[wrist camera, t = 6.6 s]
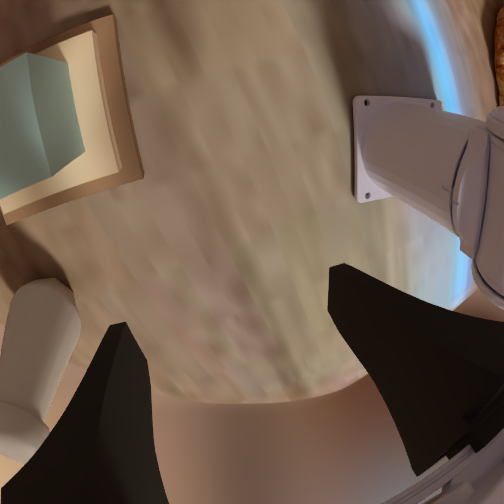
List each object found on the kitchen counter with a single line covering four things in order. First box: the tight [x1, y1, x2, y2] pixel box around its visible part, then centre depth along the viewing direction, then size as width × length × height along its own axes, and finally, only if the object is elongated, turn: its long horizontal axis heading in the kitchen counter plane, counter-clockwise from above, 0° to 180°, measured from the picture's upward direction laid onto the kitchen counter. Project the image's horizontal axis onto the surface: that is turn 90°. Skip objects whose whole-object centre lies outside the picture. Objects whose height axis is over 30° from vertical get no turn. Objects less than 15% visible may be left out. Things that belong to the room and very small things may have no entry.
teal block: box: [0, 52, 86, 199], centre depth 9 cm, size 5×5×5 cm
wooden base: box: [0, 14, 144, 225], centre depth 12 cm, size 10×10×2 cm
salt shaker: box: [0, 278, 81, 464], centre depth 13 cm, size 6×6×13 cm
